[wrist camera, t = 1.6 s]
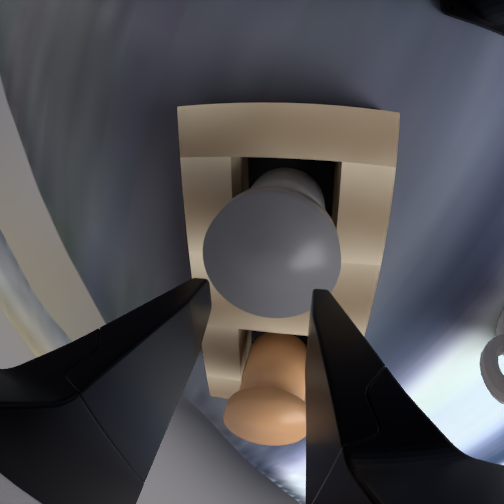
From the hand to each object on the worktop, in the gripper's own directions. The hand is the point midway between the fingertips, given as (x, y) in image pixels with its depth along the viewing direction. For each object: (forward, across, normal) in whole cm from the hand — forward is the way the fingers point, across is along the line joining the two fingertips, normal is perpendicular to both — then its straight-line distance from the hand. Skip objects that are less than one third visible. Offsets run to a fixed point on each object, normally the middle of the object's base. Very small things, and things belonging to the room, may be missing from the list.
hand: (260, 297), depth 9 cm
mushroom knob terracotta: (+8, 0, +10) cm, 13 cm away
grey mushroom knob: (+8, 0, 0) cm, 8 cm away
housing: (+11, 0, +5) cm, 12 cm away
